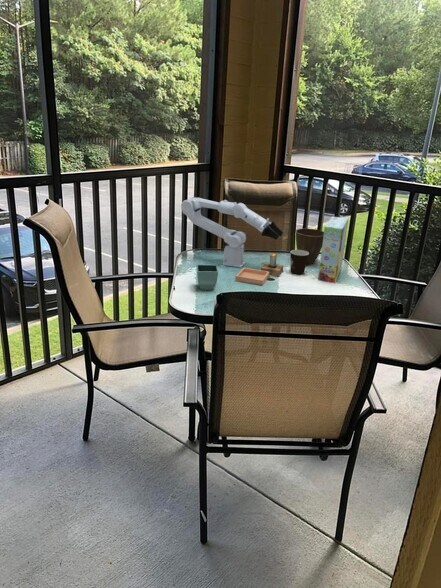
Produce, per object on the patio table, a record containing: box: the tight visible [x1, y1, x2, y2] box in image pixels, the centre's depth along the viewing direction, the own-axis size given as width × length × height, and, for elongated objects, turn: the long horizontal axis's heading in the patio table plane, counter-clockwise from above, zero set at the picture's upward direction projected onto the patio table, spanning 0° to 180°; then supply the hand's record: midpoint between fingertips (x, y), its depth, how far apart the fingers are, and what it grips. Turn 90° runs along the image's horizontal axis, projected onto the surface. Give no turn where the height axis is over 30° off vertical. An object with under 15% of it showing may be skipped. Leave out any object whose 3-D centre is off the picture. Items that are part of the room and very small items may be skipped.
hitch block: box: [260, 262, 284, 278], centre depth 217 cm, size 9×9×3 cm
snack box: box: [317, 216, 349, 284], centre depth 214 cm, size 22×9×26 cm, turn 159°
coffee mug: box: [289, 249, 309, 276], centre depth 219 cm, size 12×9×10 cm
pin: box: [268, 252, 278, 268], centre depth 216 cm, size 3×3×9 cm
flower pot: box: [196, 264, 219, 291], centre depth 194 cm, size 9×9×9 cm
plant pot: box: [295, 228, 324, 266], centre depth 231 cm, size 15×15×16 cm
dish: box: [234, 267, 270, 286], centre depth 208 cm, size 13×13×2 cm
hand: (280, 236), depth 212 cm, fingers open, 7 cm apart
